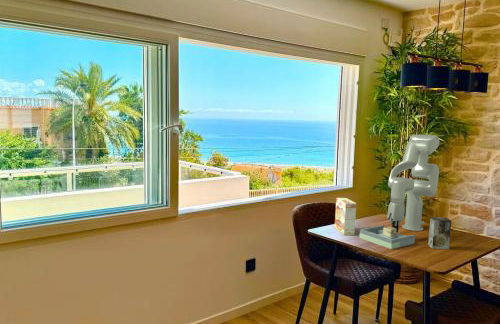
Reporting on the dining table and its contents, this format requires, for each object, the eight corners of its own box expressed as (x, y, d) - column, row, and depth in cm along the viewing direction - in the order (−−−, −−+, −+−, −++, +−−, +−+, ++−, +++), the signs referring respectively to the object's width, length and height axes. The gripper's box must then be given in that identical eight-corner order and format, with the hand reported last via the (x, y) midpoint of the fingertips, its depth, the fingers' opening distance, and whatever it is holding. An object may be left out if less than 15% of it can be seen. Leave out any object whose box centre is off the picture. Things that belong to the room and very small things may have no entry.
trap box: (382, 233, 239) (382, 225, 239) (414, 243, 221) (415, 235, 220) (359, 237, 229) (360, 229, 228) (391, 249, 210) (391, 240, 210)
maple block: (388, 233, 229) (389, 226, 229) (395, 235, 225) (396, 228, 225) (383, 234, 226) (383, 227, 226) (390, 236, 222) (390, 229, 222)
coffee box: (444, 245, 219) (447, 217, 217) (449, 249, 213) (452, 220, 211) (427, 244, 220) (430, 216, 218) (431, 248, 214) (434, 219, 212)
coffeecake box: (334, 228, 247) (335, 197, 244) (344, 228, 248) (346, 197, 246) (343, 235, 232) (345, 203, 230) (354, 235, 233) (356, 203, 231)
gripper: (399, 198, 233) (397, 228, 235) (383, 200, 225) (381, 231, 227) (411, 201, 227) (408, 232, 229) (394, 203, 219) (392, 235, 221)
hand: (394, 231), depth 228 cm, fingers closed
